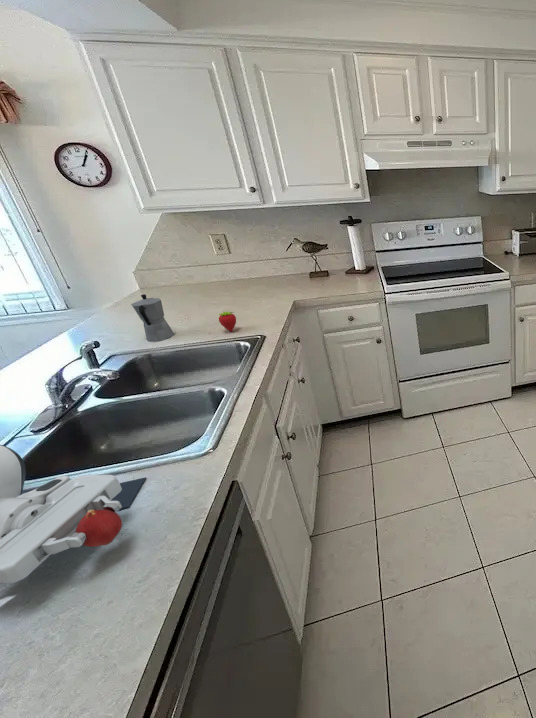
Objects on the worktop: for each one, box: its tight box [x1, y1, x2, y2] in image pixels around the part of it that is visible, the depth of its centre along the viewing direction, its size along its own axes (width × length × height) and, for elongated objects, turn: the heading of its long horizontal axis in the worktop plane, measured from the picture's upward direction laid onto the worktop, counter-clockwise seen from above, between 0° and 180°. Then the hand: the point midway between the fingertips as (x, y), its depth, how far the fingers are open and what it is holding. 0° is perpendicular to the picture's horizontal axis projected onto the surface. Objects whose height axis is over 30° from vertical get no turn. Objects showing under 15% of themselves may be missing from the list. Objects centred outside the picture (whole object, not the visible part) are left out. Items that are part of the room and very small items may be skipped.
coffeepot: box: [130, 293, 175, 343], centre depth 160 cm, size 15×9×18 cm, turn 27°
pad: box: [103, 476, 148, 512], centre depth 87 cm, size 11×9×1 cm
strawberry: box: [218, 311, 237, 333], centre depth 166 cm, size 6×8×10 cm
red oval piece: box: [75, 510, 123, 548], centre depth 72 cm, size 6×6×8 cm
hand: (101, 522), depth 72 cm, fingers closed on red oval piece, 5 cm apart
